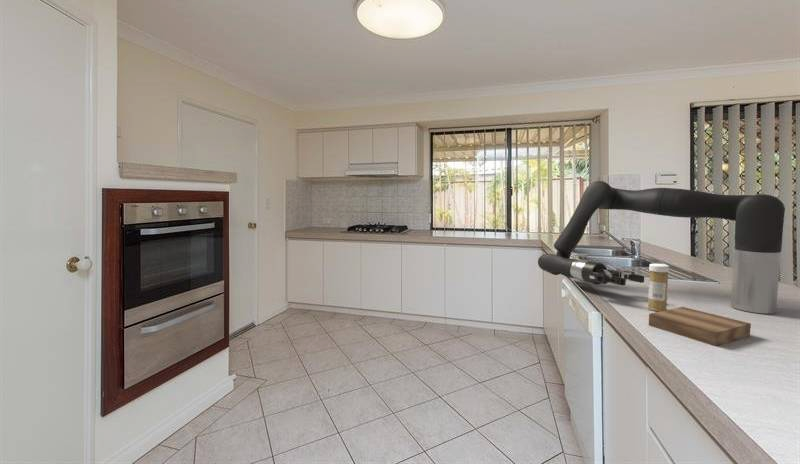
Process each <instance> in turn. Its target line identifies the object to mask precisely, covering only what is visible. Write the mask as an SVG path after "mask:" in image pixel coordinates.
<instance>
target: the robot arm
mask: <svg viewBox="0 0 800 464" xmlns="http://www.w3.org/2000/svg"><path fill="white" fill-rule="evenodd" d="M578 202H579V203H578V205H577V207H576V208H575V210H574V212H573V214H572V216H571V218H570V219H569V221H568V223H567V225H565V228H564V229H562V231H561V233H560V235H559V236H558V237H557V239H556V240H555V242H554V244H553V248H554V249H555V250H556V251H557V252H556V253H555V254H553V253H543V254H542V255H540V256H539V257H538V259H537V265H538V267H539V268H540V269H541V270H542V271H545V272H547V273H548V274H550V275H554V276H558V275H562V276H565V277H567V278H570V279H575V280H577V281H580V282H585V283H589V284H593V285H601V284H603V285H607V284H609V285H611V284H613V285H618V286H626V283H627V281H628V282H629V281H630V282H636V283H641V284H642V283H644V282H645V276H644V275H641V274H637V273H636V274H635V272H634V271H630V270H624V269H618V268H617V269H613V268H608V269H607V267H606V265H605V264H604V263H601V262H596V261H591V260H585V259H576V258H571V255H572V253H573V251H574V250H575V248H576V247H577V245H578V244H579V243H580V241H581V240H582V238H583V236H584V233H585V231H586V228H587V226H588V223H589V221H590V219H591V218H592V216H593V215H594V213H595V212H596V211H597V210H598V209H599V210H621V211H625V210H626V211H633V212H638V213H643V214H649V215H656V216H664V217H665V216H666V217H672V218H685V219H686V218H691V219H692V218H695V219H696V218H697V219H698V218H699V219H700V218H706V219H708V218H709V219H711V218H712V219H721V220H729V221H733V222H734V223H735V225H734V253H733V254H734V255H733V267H732V283H731V292H730V293H731V296H730V307H732V308H733V309H737V310H739V311H745V312H748V313H753V314H754V313H755V314H766V315H772V314H776V313H777V305H778V304H777V303H778V297H779V296H778V295H779V294H778V293H779V284H780V283H779V281H780V271H781V270H780V269H781V257H782V247H783V232H784V223H785V222H784V221H785V212H786V209H785V204H784V203H783V201H782V200H781V199H780V198H778V197H776V196H774V195H770V194H761V193H760V194H750V195H748V194H747V195H746V194H745V195H744V194H743V195H742V194H737V195H736V194H719V193H718V194H717V193H711V192H707V191H706V192H705V191H699V190H695V189H694V190H693V189H692V190H691V189H684V188H676V187H675V188H673V187H653V188H646V189H640V190H639V189H638V190H634V189H633V190H631V189H622V188H616V187H613V186H611V185H610V184H608V183H607V182H606V181H604V180H603V181H602V180H597V181H593V182H591V183H590V184H589V185H587V186H586V187H585V190H584V192H583V194H582V196H581V198H580V200H579V201H578Z"/></svg>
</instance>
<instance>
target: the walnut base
mask: <svg viewBox="0 0 800 464" xmlns="http://www.w3.org/2000/svg"><path fill="white" fill-rule="evenodd" d="M648 326H650V327H654V328H657V329H660V330H663V331H666V332H670V333H672V334H676V335H679V336H683V337H686V338H688V339H692V340H695V341H698V342H702V343H705V344H707V345H711V346H714V347H717V346H720V345H723V344H727V343H730V342H731V343H732V342H733V341H737V340H740V339H741V340H742V339H744V338H747V337H750V336H751V328H752V327H751V326H752V323H751V322H746V321H742V320H738V319H735V318H730V317H725V316H723V315H717V314H713V313H709V312H705V311H701V310H697V309H694V308H689V307H685V306H681V307H679V306H678V307H675V308H670V309H667V310H665V311H660V312H659V311H654V312H653V313H652V312H651V313H648Z"/></svg>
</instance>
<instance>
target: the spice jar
mask: <svg viewBox="0 0 800 464" xmlns="http://www.w3.org/2000/svg"><path fill="white" fill-rule="evenodd" d="M648 270H649V279H648V280H649V281H648V295H647V296H648V302H647V303H648V304H647V309H648V310H650V311H653V312H660V311H665V310H668V309H667V304H668V303H667V301H668V285H669V284H668V283H669V281H668V280H669V276H668V275H669V272H670V266H669V265H668V264H665V263H650V264H649V267H648Z"/></svg>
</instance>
